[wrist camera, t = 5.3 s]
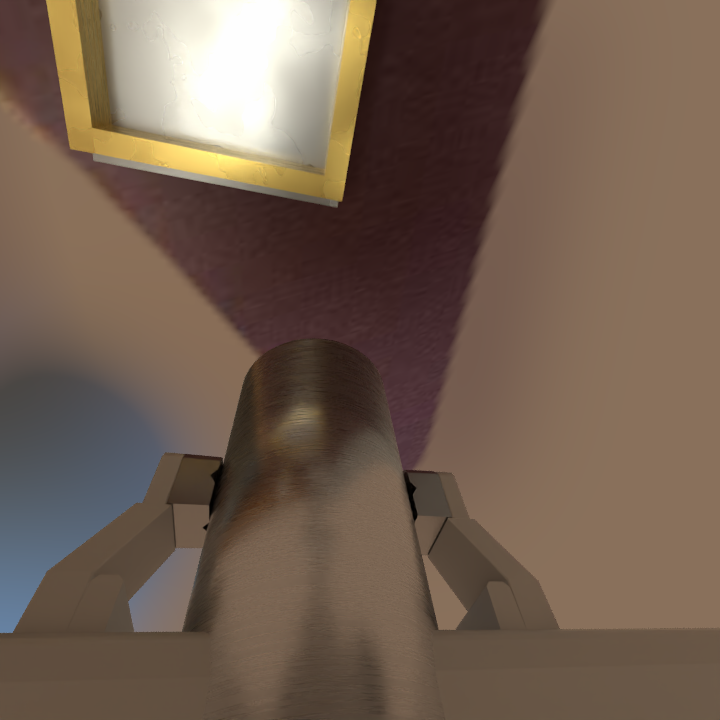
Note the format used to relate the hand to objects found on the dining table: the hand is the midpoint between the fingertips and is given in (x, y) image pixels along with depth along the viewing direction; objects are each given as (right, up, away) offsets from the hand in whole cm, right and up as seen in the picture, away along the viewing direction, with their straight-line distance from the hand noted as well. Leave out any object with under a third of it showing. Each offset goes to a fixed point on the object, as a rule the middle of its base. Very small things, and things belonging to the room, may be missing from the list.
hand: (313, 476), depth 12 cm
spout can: (-1, +1, +4) cm, 4 cm away
